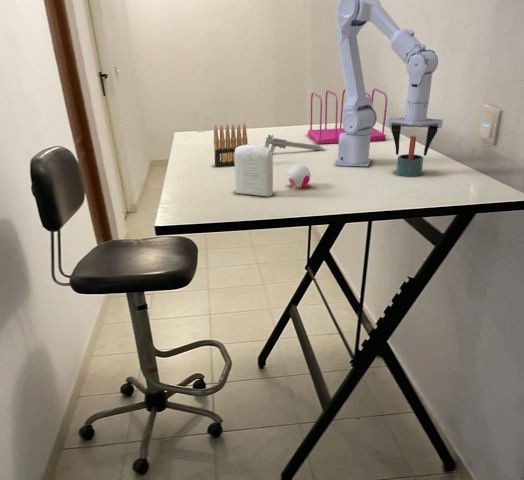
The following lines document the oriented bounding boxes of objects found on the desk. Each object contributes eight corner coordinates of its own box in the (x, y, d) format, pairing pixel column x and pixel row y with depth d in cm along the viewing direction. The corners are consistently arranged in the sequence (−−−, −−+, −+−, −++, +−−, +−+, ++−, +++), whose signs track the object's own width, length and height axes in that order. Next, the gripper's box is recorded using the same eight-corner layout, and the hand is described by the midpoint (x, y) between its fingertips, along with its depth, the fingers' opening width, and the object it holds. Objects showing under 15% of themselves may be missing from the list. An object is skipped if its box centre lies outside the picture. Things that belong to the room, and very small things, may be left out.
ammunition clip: (248, 163, 167) (246, 122, 160) (249, 164, 165) (247, 123, 159) (214, 165, 165) (211, 124, 159) (215, 167, 164) (212, 125, 157)
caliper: (265, 154, 176) (265, 134, 172) (265, 154, 177) (264, 134, 173) (324, 150, 179) (324, 130, 176) (323, 149, 180) (323, 130, 177)
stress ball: (301, 203, 142) (315, 184, 138) (278, 184, 141) (291, 164, 137) (309, 194, 148) (323, 175, 143) (287, 176, 147) (300, 156, 143)
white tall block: (275, 193, 139) (275, 144, 133) (269, 197, 136) (268, 147, 129) (239, 189, 143) (237, 141, 136) (233, 194, 139) (230, 145, 133)
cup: (395, 175, 150) (397, 159, 148) (396, 169, 156) (398, 153, 154) (421, 177, 149) (423, 160, 146) (421, 170, 154) (423, 154, 152)
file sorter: (385, 140, 189) (390, 92, 180) (317, 144, 187) (319, 95, 178) (371, 131, 204) (374, 86, 195) (307, 134, 201) (308, 89, 192)
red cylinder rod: (406, 172, 152) (410, 137, 146) (406, 170, 153) (410, 136, 148) (411, 172, 151) (416, 137, 146) (411, 170, 153) (416, 136, 147)
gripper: (389, 103, 141) (384, 156, 148) (446, 104, 137) (437, 158, 145) (390, 99, 146) (385, 150, 154) (445, 100, 143) (437, 152, 150)
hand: (411, 154), depth 150 cm, fingers open, 7 cm apart
